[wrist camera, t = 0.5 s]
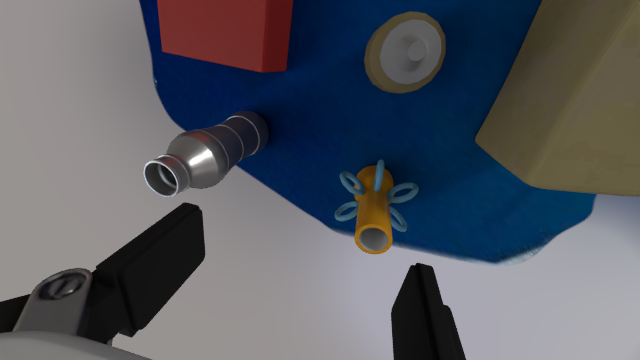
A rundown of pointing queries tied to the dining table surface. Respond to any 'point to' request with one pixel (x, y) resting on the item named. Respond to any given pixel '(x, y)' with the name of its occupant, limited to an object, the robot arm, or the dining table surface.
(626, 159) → the cheese
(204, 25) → the red box lid
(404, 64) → the squeeze bottle
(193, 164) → the silver metal bottle
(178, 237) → the robot arm
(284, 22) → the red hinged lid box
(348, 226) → the dining table surface
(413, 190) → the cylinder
